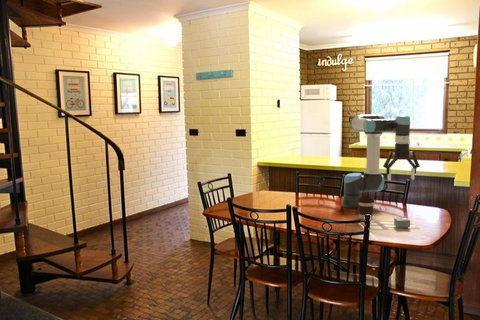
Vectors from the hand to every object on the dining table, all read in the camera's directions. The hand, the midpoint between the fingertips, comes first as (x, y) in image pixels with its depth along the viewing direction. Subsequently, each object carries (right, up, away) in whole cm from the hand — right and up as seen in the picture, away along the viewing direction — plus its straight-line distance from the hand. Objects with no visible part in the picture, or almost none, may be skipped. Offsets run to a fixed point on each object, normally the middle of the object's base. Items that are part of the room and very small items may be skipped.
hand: (400, 179), depth 231 cm
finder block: (-1, -27, -3) cm, 27 cm away
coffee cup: (-15, -26, +18) cm, 35 cm away
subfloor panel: (-6, -28, +3) cm, 29 cm away
